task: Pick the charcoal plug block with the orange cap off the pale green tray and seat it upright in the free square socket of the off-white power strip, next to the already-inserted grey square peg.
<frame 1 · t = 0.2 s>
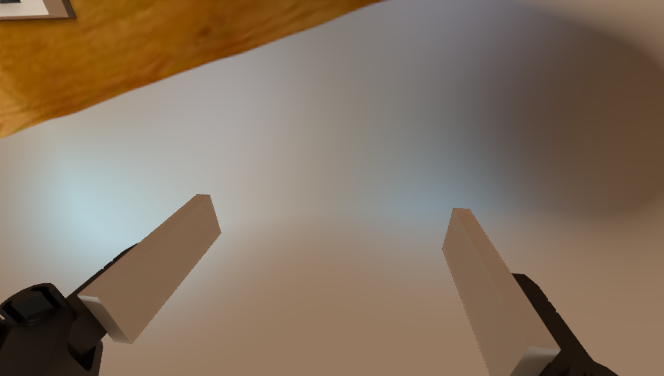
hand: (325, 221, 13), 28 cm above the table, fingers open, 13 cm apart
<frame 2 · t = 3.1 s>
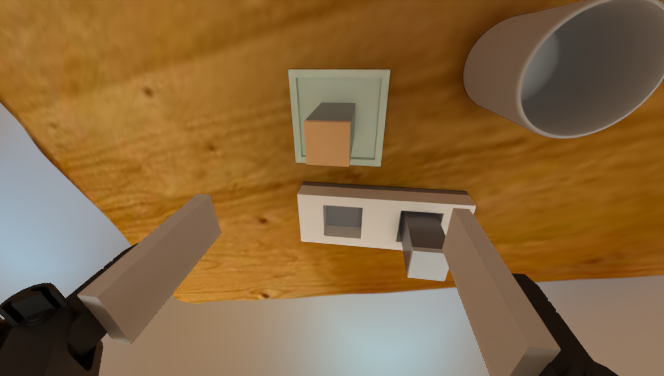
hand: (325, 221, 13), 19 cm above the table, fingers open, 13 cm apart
mug: (525, 63, 25), on the table
grey square peg: (415, 217, 34), resting on strip
strip: (379, 210, 35), on the table
plug: (338, 120, 29), resting on tray
tray: (338, 119, 30), on the table
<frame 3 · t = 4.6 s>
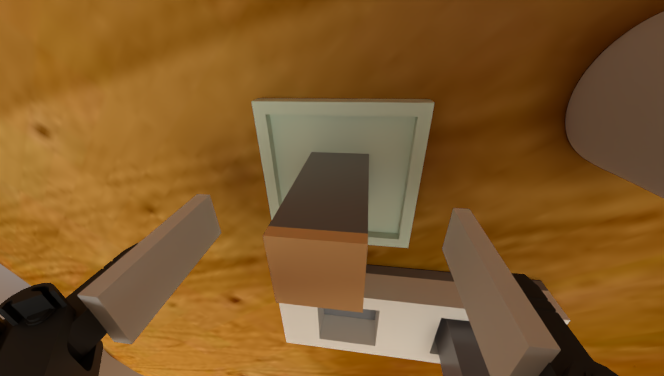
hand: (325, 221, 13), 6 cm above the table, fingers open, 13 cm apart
grey square peg: (458, 312, 22), resting on strip
strip: (401, 297, 24), on the table
plug: (339, 178, 18), resting on tray
tray: (340, 175, 18), on the table
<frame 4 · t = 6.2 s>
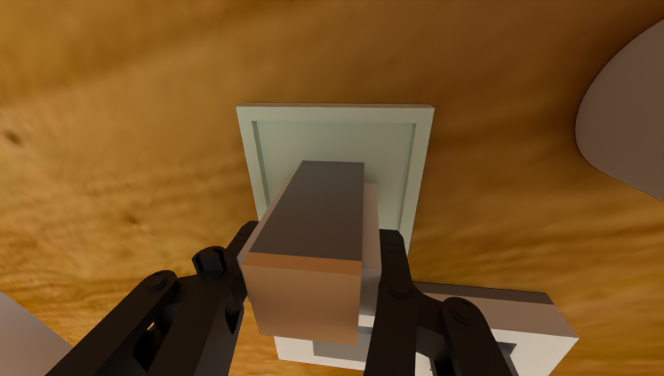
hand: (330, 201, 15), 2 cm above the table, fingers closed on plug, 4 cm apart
strip: (399, 310, 23), on the table
plug: (333, 188, 17), point 1 cm above the table, touching gripper, tray
tray: (334, 185, 17), on the table
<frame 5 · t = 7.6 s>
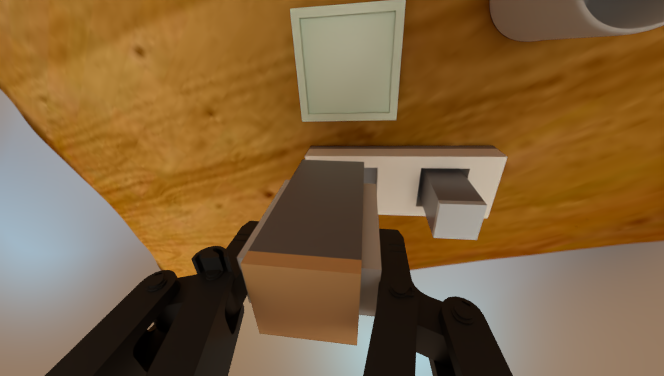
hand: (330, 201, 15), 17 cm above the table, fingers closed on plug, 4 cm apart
grey square peg: (436, 178, 31), resting on strip
strip: (394, 174, 32), on the table
plug: (333, 187, 17), point 15 cm above the table, touching gripper
tray: (347, 67, 27), on the table
when the fingers open (4 cm above the table, at t = 9.5 s): plug drops 2 cm, resting on strip.
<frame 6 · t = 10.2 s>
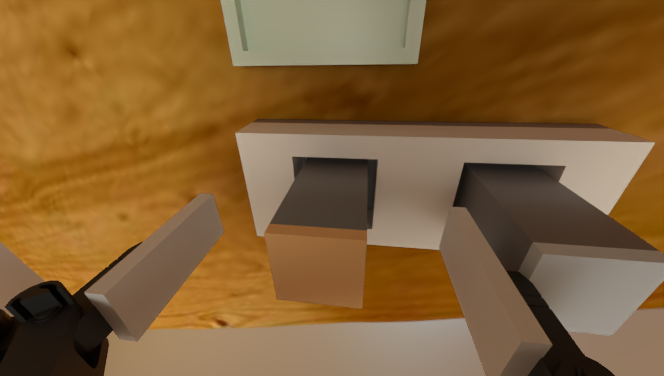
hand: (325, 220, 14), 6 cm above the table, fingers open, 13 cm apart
grey square peg: (482, 184, 17), resting on strip
strip: (406, 174, 18), on the table
plug: (338, 177, 18), point 1 cm above the table, touching strip
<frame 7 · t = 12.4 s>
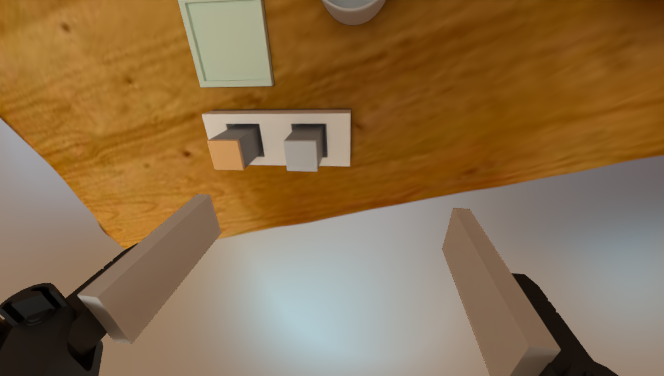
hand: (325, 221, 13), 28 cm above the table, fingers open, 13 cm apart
grey square peg: (312, 136, 39), resting on strip
strip: (283, 134, 40), on the table
plug: (252, 136, 40), point 1 cm above the table, touching strip
tray: (231, 43, 34), on the table
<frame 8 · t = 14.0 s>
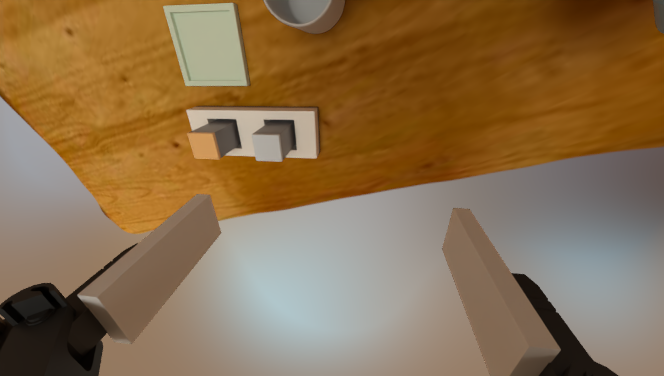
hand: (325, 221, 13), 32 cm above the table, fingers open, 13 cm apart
grey square peg: (284, 131, 43), resting on strip
strip: (260, 128, 45), on the table
plug: (232, 129, 45), point 1 cm above the table, touching strip
tray: (211, 48, 39), on the table
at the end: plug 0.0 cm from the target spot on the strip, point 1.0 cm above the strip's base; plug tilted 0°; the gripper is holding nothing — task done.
